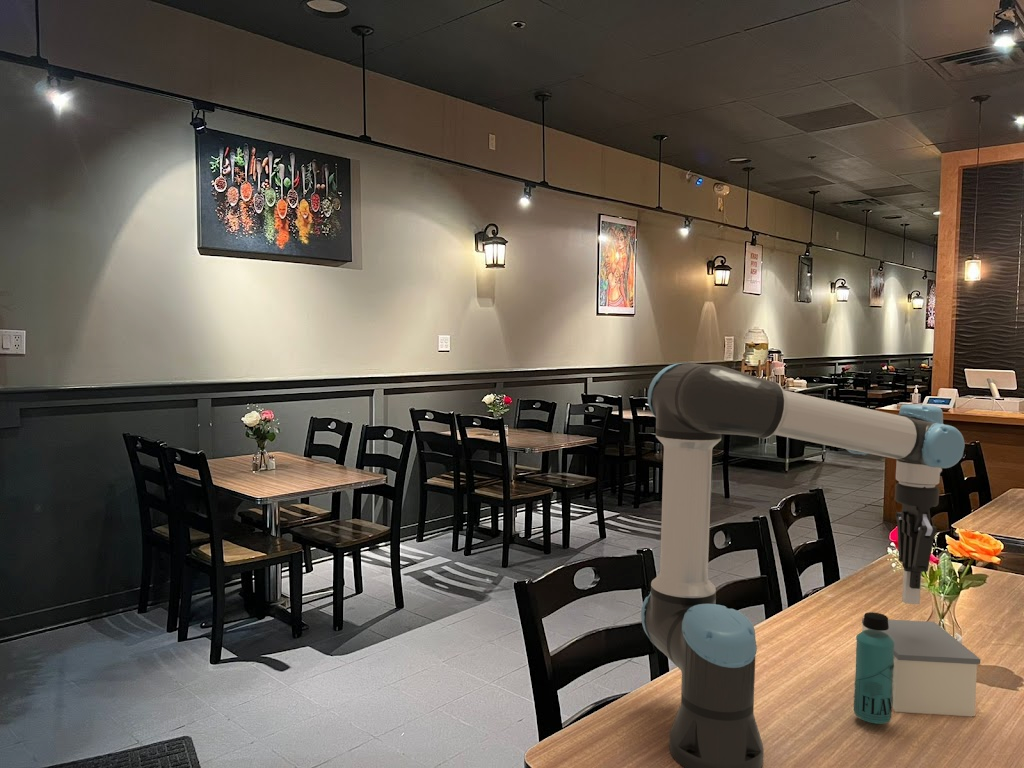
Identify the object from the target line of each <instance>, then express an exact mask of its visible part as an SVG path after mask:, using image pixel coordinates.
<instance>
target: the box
mask: <svg viewBox="0 0 1024 768" xmlns="http://www.w3.org/2000/svg"><path fill="white" fill-rule="evenodd" d="M861 630H862V631H864V630H869V629H868V628H867V627H865V626H864V625H863V623H862V629H861ZM862 631H861V632H862ZM893 661H894V665H893V666H894V667H893V670H894V671H893V672H894V674H893V675H894V676H893V677H894V678H893V685H894V686H892V693H893V705H892V711H893V710H894V712H896V713H908V714H909V713H910V714H925V715H927V714H928V715H940V716H941V715H942V716H943V715H945V716H959V717H972V716H976V697H977V675H978V673H977V672H978V671H977V670H978V664H963V663H945V662H927V661H908V660H898V659H897V658H896V657H895V656H894V660H893Z"/></svg>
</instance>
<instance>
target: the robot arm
mask: <svg viewBox="0 0 1024 768" xmlns="http://www.w3.org/2000/svg"><path fill="white" fill-rule="evenodd" d="M647 404H648V407H649V409H650V411H651V413H652V415H653V416H654V417H655V438H656V439H657V440H658V441H659V442H660V443H661V444H662V446H663V459H662V460H663V463H662V465H663V466H662V469H663V470H662V490H661V491H662V494H661V495H662V496H661V498H662V499H661V526H660V531H661V532H660V555H659V557H660V560H659V564H660V565H659V574H658V575H657V576H655V578H653V579H652V580H651V582H650V592H649V594H648V596H646V597H645V598H644V601H643V602H642V605H641V610H640V618H641V619H640V621H641V624H642V628H643V631H644V633H645V634H646V636H647V638H648V639H649V641H650V642H651V643H652V645H653V646H654V647H655V648H657V650H659V651H660V652H661V653H663V654H664V655H665V656H666V657H667V658H668V659H669V660H670V661H671V662H672V663H673V664H674V665H675V666H676V667H677V668H678V670H680V672H681V686H680V687H681V691H680V692H681V695H680V696H681V697H680V705H679V708H678V711H677V713H676V716H675V718H674V721H673V723H672V726H671V729H670V732H669V742H668V743H669V746H668V747H669V753H670V755H671V756H672V758H673V759H674V760H675V761H676V762H677V763H678V764H679V765H680V766H682V767H684V768H762V767H763V765H764V755H765V753H764V749H765V748H764V745H763V741H762V738H761V734H760V730H759V727H758V725H757V719H756V717H755V715H754V710H755V709H754V706H755V703H754V701H755V683H756V682H755V675H756V655H757V652H758V651H757V650H758V649H757V640H756V630H755V627H754V625H753V623H752V621H751V620H750V618H748V617H747V615H745V614H743V613H742V612H740V611H739V610H737V609H734V608H728V607H727V606H725V605H721V604H716V600H717V598H716V597H717V595H716V594H717V590H716V586H715V585H714V583H712V581H711V580H709V579H710V578H709V577H708V575H709V573H708V572H709V551H710V549H709V548H710V524H711V523H710V522H711V521H710V520H711V519H710V517H711V516H710V515H711V496H712V494H711V493H712V469H713V468H712V467H713V466H712V465H713V463H712V462H713V448H714V447H715V446H716V445H717V444H719V442H721V441H722V435H735V436H737V435H738V436H746V437H747V436H748V437H752V438H754V437H755V438H759V439H768V438H771V437H772V436H774V435H775V436H779V437H784V438H789V439H794V440H800V441H805V442H810V443H815V444H819V445H823V446H824V445H825V446H831V447H834V448H835V447H836V448H840V449H845V450H846V451H847V452H849V453H850V454H853V455H854V454H855V455H862V456H867V455H873V456H874V455H875V456H880V457H885V458H890V459H895V460H896V466H895V467H896V468H895V480H896V481H897V483H895V489H894V501H895V502H896V503H898V504H901V505H902V507H901V511H900V512H899V511H896V512H895V519H896V520H895V521H896V526H897V548H898V549H897V550H898V551H897V552H898V561H899V562H900V563H902V564H901V565H902V568H903V574H902V576H903V579H902V580H903V581H902V595H901V596H902V597H901V598H902V599H901V602H902V603H904V604H909V605H920V603H921V589H922V573H924V572H929V567H930V561H931V560H930V559H931V555H932V550H933V544H934V539H935V535H936V533H937V530H938V529H937V526H936V525H931V512H930V509H931V508H932V507H933V508H935V507H937V506H938V505H939V502H940V501H939V500H940V499H939V498H940V488H939V486H937V485H939V484H940V477H941V473H942V472H943V469H949V468H952V467H954V466H955V465H957V464H958V463H959V461H960V460H961V459H962V458H963V456H964V451H965V448H966V447H965V446H966V445H965V443H966V442H965V439H964V436H963V434H962V432H961V431H959V429H958V428H956V427H955V426H952V425H949V424H944V413H943V412H944V411H943V410H942V409H941V407H939V406H937V405H927V404H915V403H914V404H913V403H911V404H902V405H900V407H899V413H898V414H895V413H889V412H885V411H881V410H876V409H870V408H867V407H863V406H862V407H861V406H858V405H854V404H848V403H843V402H840V401H835V400H830V399H827V398H826V399H825V398H820V397H816V396H811V395H807V394H803V393H799V392H793V391H789V390H786V389H784V388H783V386H782V385H781V384H780V383H778V382H776V381H773V380H769V379H768V380H767V379H763V378H759V377H757V376H755V375H754V376H753V375H750V374H747V373H744V372H742V371H739V370H736V369H732V368H729V367H727V366H723V365H717V364H703V363H702V364H701V363H692V362H680V363H674V364H671V365H668V366H666V367H664V368H663V369H661V370H660V371H659V372H658V373H657V374H656V375H655V376H654V377H653V378H652V380H651V382H650V384H649V388H648V390H647Z"/></svg>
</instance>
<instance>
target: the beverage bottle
mask: <svg viewBox="0 0 1024 768" xmlns="http://www.w3.org/2000/svg"><path fill="white" fill-rule="evenodd" d="M863 618H864V621H863V623H862V624H863V625H864V626H865V627H867V628H869V629H873V630H864V631H861V632H859V633H858V634H857V635H856V638H855V640H856V645H855V646H856V650H855V652H856V653H855V677H854V689H853V699H852V700H853V713H854V714H855V716H856V717H857V718H859V720H863V721H864V722H866V723H871V724H877V725H879V724H881V725H884V724H887V723H889V722H891V719H892V717H893V708H892V705H893V693H892V686H894V685H893V678H894V677H893V676H894V675H893V674H894V672H893V671H894V670H893V667H894V666H893V665H894V661H893V660H894V641H893V640H892V638H891V637H890V636H889V635H888V634H886V633H884V632H882V631H884V630H888V629H889V625H888V619H889V617H888V616H887V615H885V614H883V613H881V612H874V611H873V612H871V611H870V612H865V613H864V615H863ZM878 630H879V631H878Z"/></svg>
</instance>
